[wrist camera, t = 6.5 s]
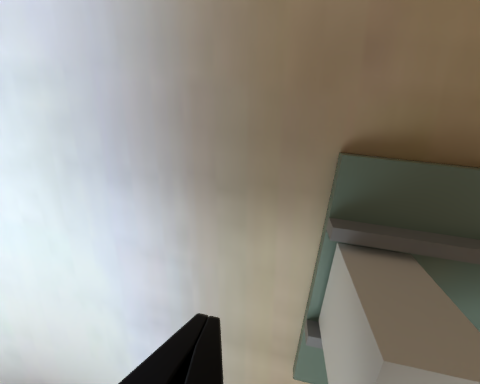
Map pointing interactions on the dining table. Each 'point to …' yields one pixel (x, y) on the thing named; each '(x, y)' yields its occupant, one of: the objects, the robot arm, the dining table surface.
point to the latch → (393, 323)
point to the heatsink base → (398, 234)
